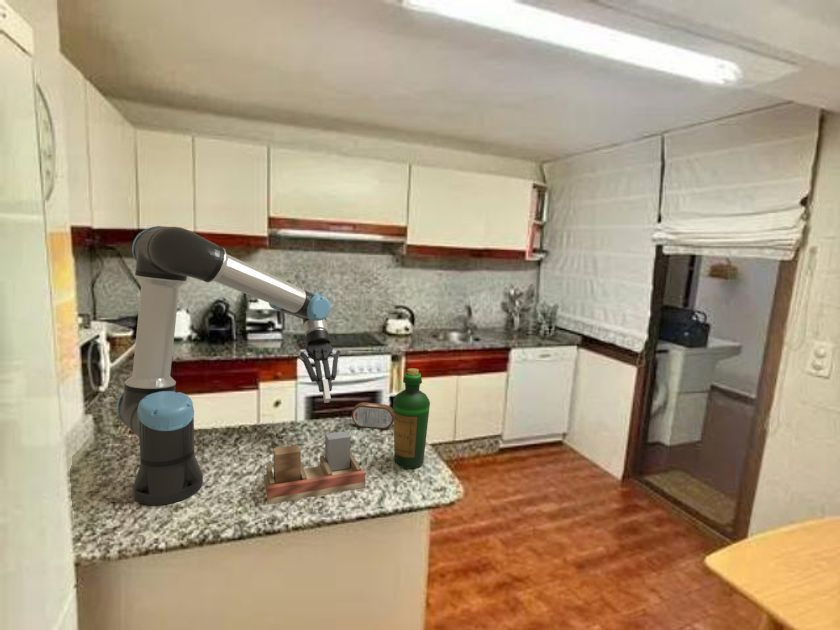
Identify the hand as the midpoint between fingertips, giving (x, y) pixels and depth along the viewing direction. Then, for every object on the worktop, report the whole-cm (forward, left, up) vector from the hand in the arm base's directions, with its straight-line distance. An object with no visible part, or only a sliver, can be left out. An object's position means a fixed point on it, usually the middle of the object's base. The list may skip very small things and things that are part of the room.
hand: (327, 400), depth 135 cm
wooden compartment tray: (-7, -18, -16) cm, 25 cm away
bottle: (+21, -15, -16) cm, 30 cm away
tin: (+19, +13, -16) cm, 28 cm away
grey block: (0, -14, -14) cm, 20 cm away
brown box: (-14, -19, -14) cm, 27 cm away
